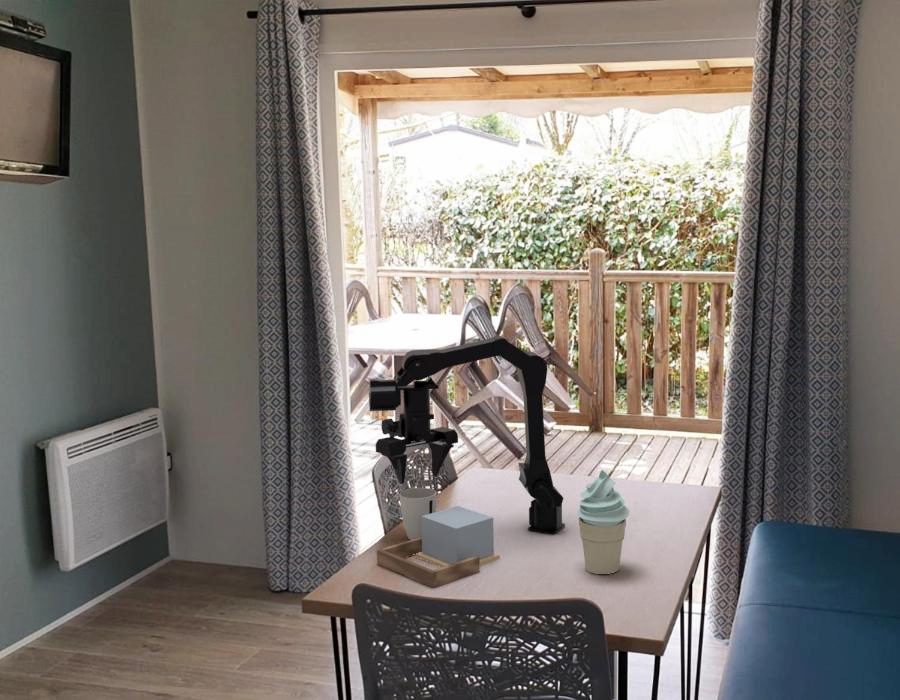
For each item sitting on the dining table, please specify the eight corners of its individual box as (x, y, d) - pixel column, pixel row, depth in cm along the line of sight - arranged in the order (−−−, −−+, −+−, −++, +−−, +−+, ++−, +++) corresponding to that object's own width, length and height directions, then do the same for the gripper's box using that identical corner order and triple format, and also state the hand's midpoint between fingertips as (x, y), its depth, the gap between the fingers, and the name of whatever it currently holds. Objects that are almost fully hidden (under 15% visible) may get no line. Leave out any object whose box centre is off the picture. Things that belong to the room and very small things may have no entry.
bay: (423, 549, 211) (423, 536, 211) (479, 571, 198) (479, 557, 198) (377, 564, 203) (376, 550, 203) (432, 588, 190) (432, 573, 190)
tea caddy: (459, 544, 214) (459, 504, 213) (499, 559, 205) (499, 517, 204) (416, 558, 207) (415, 516, 205) (455, 574, 197) (454, 530, 196)
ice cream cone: (581, 580, 192) (581, 479, 189) (574, 559, 203) (574, 464, 200) (634, 579, 192) (634, 478, 189) (623, 558, 203) (624, 463, 200)
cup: (433, 544, 215) (432, 499, 213) (396, 542, 216) (395, 497, 215) (441, 531, 222) (440, 488, 221) (405, 530, 224) (404, 487, 223)
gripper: (427, 398, 227) (429, 465, 229) (359, 410, 216) (361, 480, 218) (459, 405, 219) (460, 474, 221) (390, 417, 207) (392, 490, 209)
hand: (418, 479), depth 217 cm, fingers open, 9 cm apart
